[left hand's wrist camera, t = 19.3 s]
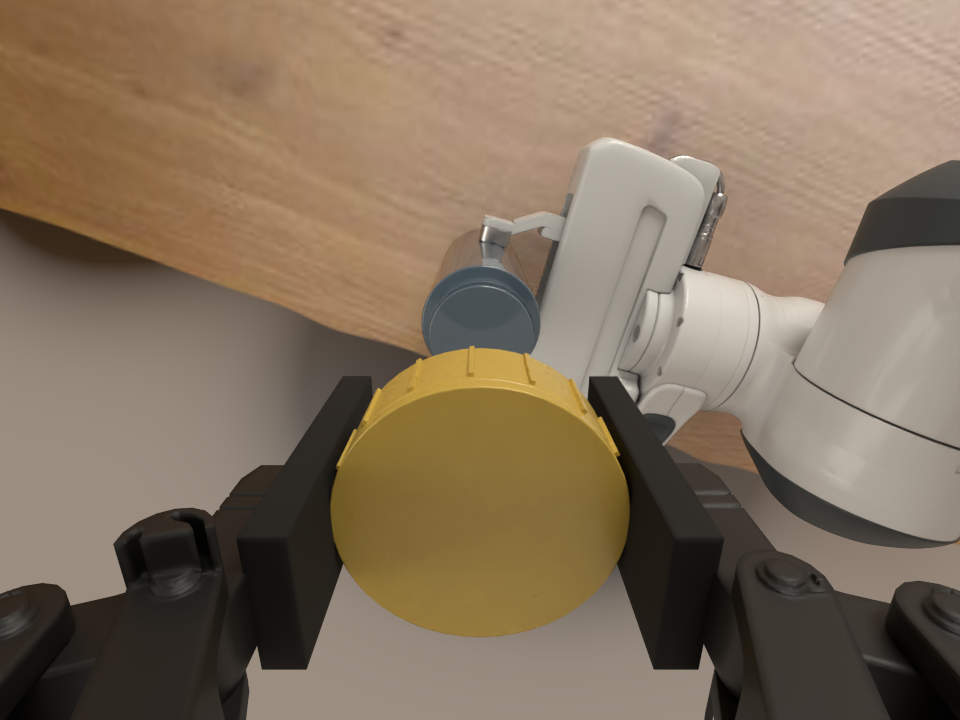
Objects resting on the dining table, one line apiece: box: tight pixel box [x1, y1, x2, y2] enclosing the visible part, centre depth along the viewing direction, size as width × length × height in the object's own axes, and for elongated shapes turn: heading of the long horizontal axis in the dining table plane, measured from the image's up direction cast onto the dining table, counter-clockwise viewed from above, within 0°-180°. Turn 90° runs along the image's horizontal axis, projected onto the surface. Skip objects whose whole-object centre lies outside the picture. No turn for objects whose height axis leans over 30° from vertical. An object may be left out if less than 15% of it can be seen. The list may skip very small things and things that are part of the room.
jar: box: [422, 230, 541, 356], centre depth 30 cm, size 6×6×18 cm
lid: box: [330, 346, 630, 637], centre depth 11 cm, size 6×6×2 cm
